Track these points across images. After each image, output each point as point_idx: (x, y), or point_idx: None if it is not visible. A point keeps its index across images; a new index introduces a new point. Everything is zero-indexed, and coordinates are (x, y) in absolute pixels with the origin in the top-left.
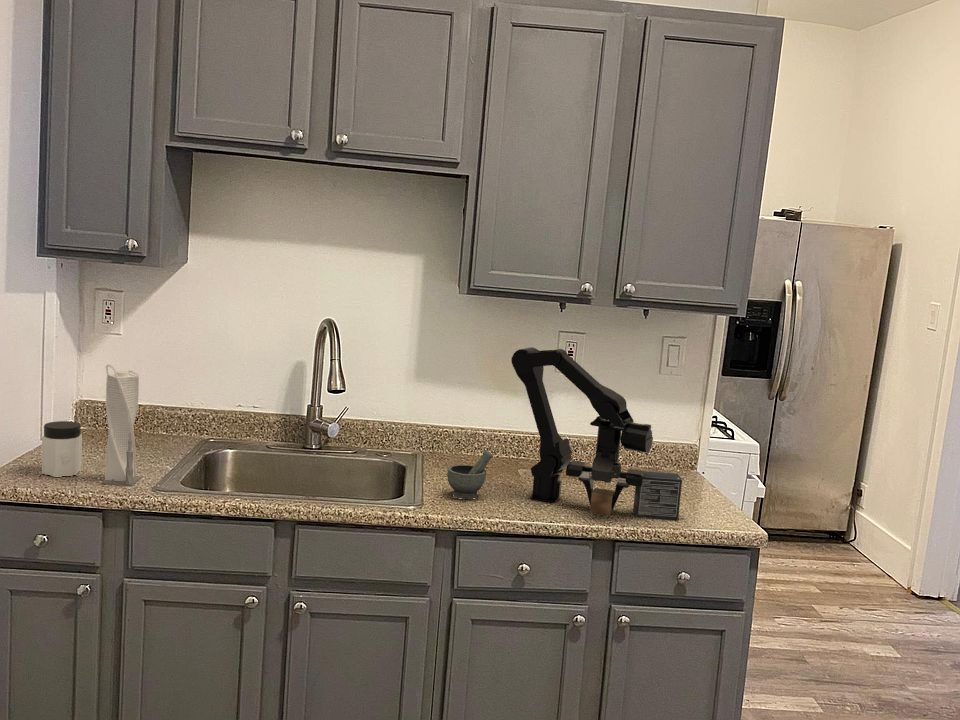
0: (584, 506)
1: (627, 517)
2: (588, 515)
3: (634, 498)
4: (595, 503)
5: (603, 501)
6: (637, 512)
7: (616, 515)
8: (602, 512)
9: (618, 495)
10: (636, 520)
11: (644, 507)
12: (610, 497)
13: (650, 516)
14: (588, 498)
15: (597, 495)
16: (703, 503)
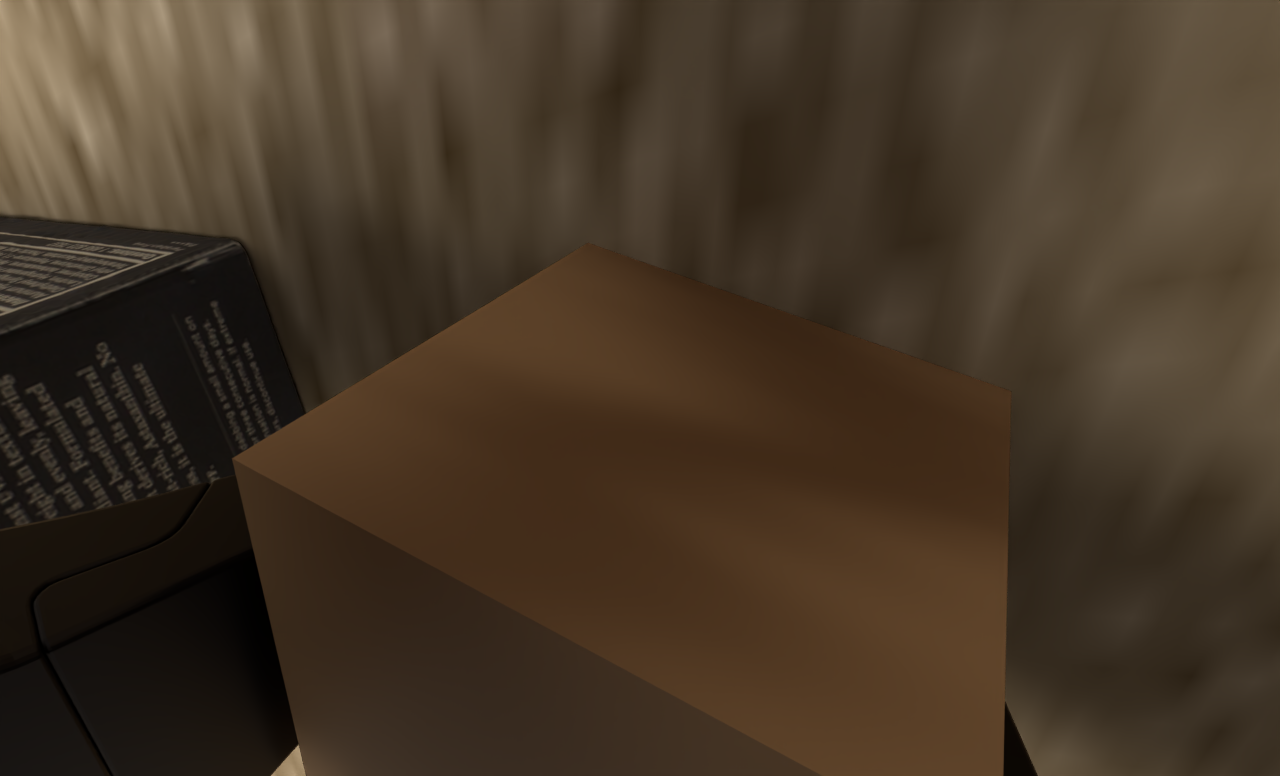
0: (1033, 698)
1: (327, 186)
2: (1162, 79)
3: None
4: (857, 475)
5: (603, 438)
6: (166, 260)
7: (484, 256)
8: (719, 307)
9: (130, 503)
10: (193, 54)
11: (5, 284)
12: (323, 445)
13: (88, 231)
14: (1030, 762)
15: (744, 653)
16: None
